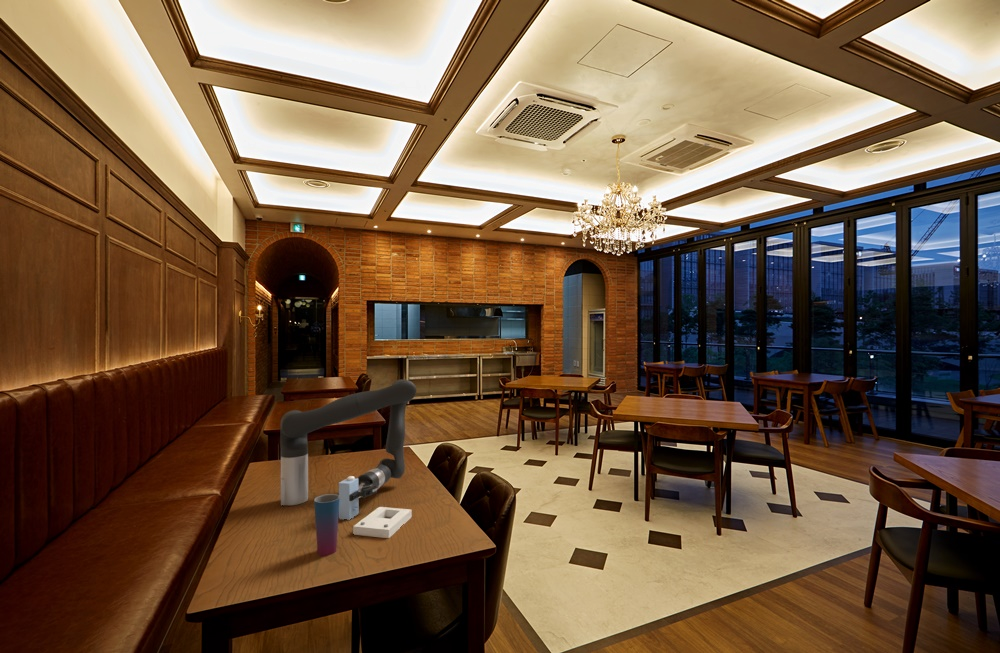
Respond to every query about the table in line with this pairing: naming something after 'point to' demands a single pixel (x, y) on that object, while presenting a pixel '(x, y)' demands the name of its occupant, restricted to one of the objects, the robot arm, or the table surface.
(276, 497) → the table surface
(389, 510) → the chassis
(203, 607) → the table surface
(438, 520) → the table surface
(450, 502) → the table surface
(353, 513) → the block
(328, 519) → the cup
